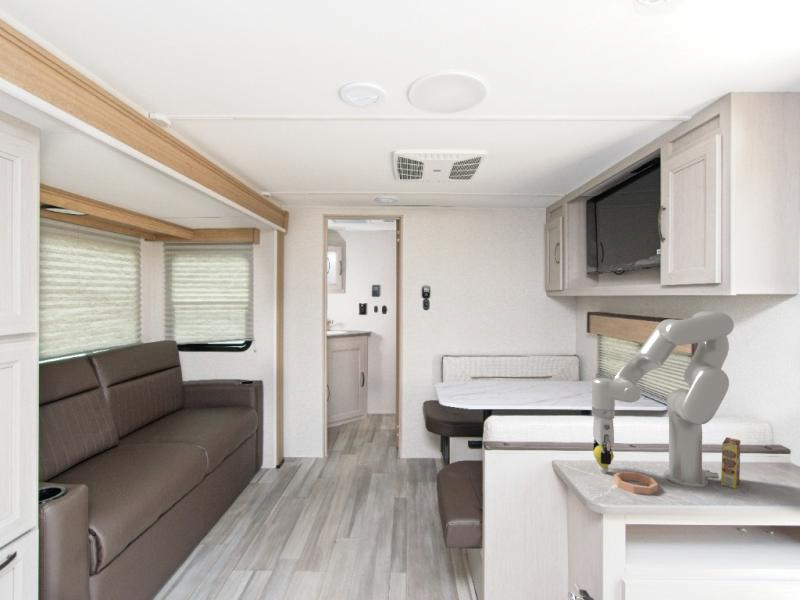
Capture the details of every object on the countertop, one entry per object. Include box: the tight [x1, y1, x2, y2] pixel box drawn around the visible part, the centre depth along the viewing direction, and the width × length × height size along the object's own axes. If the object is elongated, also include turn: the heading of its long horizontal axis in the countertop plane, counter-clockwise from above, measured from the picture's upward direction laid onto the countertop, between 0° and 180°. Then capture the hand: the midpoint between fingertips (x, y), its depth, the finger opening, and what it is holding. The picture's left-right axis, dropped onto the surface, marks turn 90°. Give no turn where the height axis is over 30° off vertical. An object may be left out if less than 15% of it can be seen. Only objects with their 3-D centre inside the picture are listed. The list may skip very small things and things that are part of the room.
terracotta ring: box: [613, 470, 659, 495], centre depth 136 cm, size 12×12×3 cm
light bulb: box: [592, 445, 615, 474], centre depth 148 cm, size 7×7×10 cm
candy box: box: [720, 437, 741, 489], centre depth 138 cm, size 9×4×15 cm, turn 134°
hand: (601, 458), depth 149 cm, fingers open, 9 cm apart
